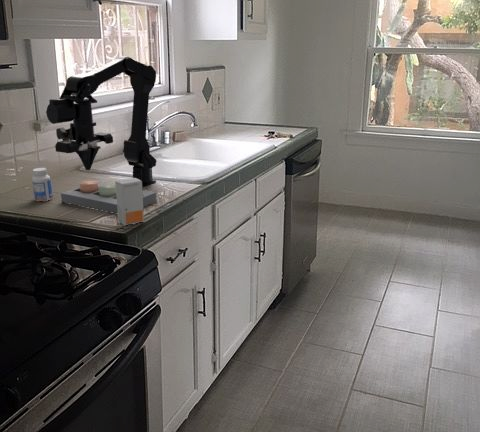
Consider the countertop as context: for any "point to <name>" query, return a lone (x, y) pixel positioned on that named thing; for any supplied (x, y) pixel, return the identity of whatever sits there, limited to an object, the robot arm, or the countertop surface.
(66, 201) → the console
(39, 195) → the pill bottle
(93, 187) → the button terracotta
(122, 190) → the skincare box
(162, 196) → the countertop surface
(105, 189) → the button sage
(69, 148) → the robot arm
